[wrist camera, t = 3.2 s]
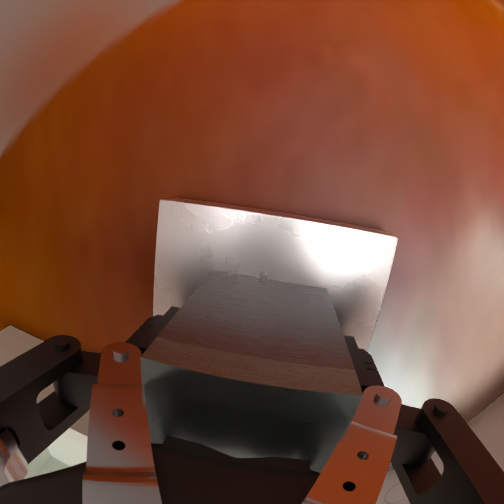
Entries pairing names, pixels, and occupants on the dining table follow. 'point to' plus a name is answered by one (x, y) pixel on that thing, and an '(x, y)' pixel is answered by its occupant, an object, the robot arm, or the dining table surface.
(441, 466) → the napkin holder
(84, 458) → the bin
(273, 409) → the grey rectangular block
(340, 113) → the dining table surface
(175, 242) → the stud plate
